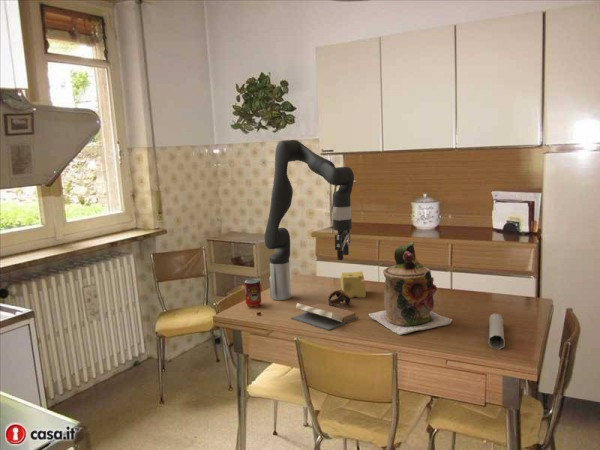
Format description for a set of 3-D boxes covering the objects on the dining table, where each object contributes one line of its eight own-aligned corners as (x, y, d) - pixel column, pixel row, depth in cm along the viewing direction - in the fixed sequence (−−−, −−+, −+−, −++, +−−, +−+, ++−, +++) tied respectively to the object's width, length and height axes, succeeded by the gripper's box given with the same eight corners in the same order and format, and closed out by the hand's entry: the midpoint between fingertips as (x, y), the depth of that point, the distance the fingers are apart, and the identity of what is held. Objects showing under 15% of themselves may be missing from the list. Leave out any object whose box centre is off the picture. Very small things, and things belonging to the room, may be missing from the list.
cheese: (365, 297, 231) (365, 276, 229) (342, 298, 231) (341, 277, 229) (363, 291, 241) (362, 271, 239) (340, 292, 241) (340, 271, 240)
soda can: (249, 309, 222) (247, 282, 220) (243, 305, 228) (242, 279, 227) (263, 306, 225) (262, 280, 223) (258, 302, 231) (256, 276, 230)
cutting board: (291, 318, 207) (291, 312, 207) (320, 308, 219) (319, 302, 218) (328, 330, 192) (328, 324, 192) (357, 318, 204) (357, 312, 203)
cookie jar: (366, 317, 205) (364, 241, 200) (415, 307, 214) (414, 233, 209) (401, 337, 182) (399, 251, 177) (454, 325, 192) (454, 243, 187)
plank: (295, 307, 207) (297, 303, 208) (306, 311, 212) (307, 307, 213) (331, 318, 193) (332, 313, 194) (341, 322, 198) (343, 317, 198)
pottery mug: (353, 310, 215) (344, 296, 213) (334, 319, 218) (325, 305, 215) (352, 295, 226) (343, 281, 224) (334, 304, 229) (325, 290, 226)
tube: (486, 313, 192) (486, 336, 169) (500, 309, 190) (502, 333, 167) (491, 326, 192) (491, 351, 169) (505, 322, 190) (507, 348, 167)
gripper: (337, 214, 206) (339, 253, 209) (327, 220, 193) (329, 261, 196) (355, 214, 204) (356, 253, 206) (346, 220, 190) (347, 262, 193)
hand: (343, 257), depth 201 cm, fingers open, 8 cm apart
